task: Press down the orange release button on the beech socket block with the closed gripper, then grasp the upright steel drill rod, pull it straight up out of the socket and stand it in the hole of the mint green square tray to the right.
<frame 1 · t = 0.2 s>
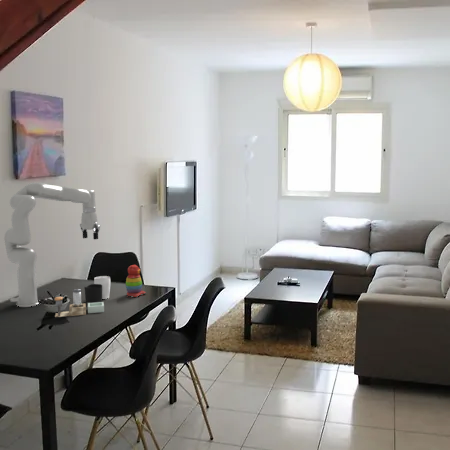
hand: (90, 238, 337), 31 cm above the table, tool pointing down, fingers open, 9 cm apart
mint green square tray: (96, 312, 287), on the table
socket block: (71, 314, 282), on the table
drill: (77, 312, 283), point 1 cm above the table, touching socket block
stacking bear: (134, 295, 322), on the table
cup: (103, 298, 316), on the table
pen holder: (94, 304, 304), on the table
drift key: (58, 302, 280), point 7 cm above the table, slide at 0.0 cm
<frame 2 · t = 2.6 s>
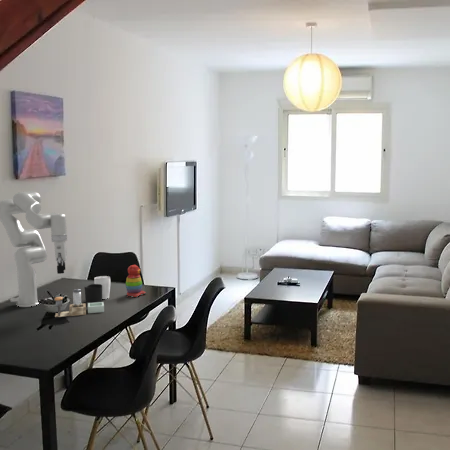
hand: (61, 271, 283), 22 cm above the table, tool pointing down, fingers open, 9 cm apart
nothing on the table moved.
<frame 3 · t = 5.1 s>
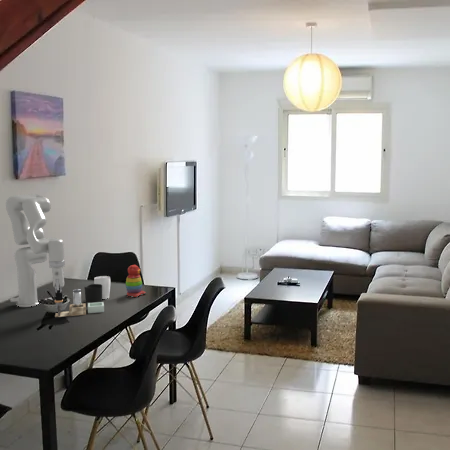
hand: (59, 300, 280), 8 cm above the table, tool pointing down, fingers closed
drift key: (59, 304, 280), point 6 cm above the table, slide at 1.2 cm, touching gripper
everything else where it was.
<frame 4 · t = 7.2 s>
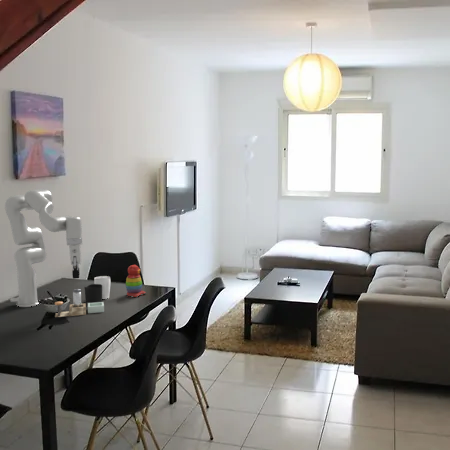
hand: (76, 276, 281), 20 cm above the table, tool pointing down, fingers open, 5 cm apart
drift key: (59, 306, 280), point 5 cm above the table, slide at 2.4 cm
everything else where it was.
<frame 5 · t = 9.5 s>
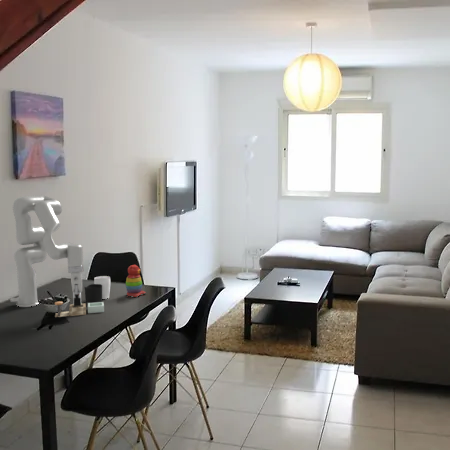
hand: (77, 304, 282), 5 cm above the table, tool pointing down, fingers closed on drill, 4 cm apart
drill: (77, 312, 283), point 1 cm above the table, touching gripper, socket block
everything else where it was.
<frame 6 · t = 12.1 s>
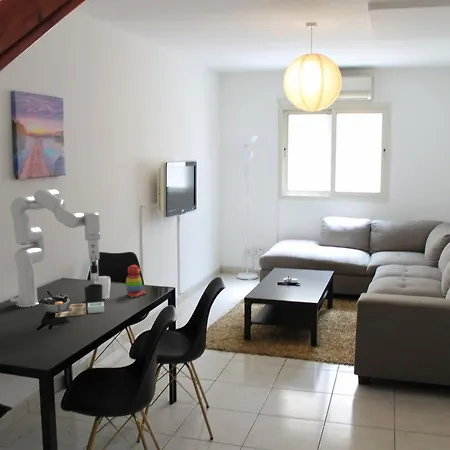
hand: (94, 272, 284), 21 cm above the table, tool pointing down, fingers closed on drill, 4 cm apart
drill: (94, 280, 285), point 16 cm above the table, touching gripper
everything else where it was.
when the fingers open (7 cm above the table, at t = 14.9 s): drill drops 2 cm, resting on mint green square tray.
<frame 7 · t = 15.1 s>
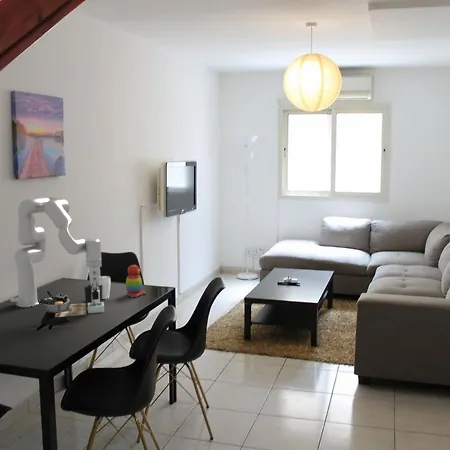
hand: (95, 297, 286), 8 cm above the table, tool pointing down, fingers open, 6 cm apart
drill: (95, 310, 287), point 1 cm above the table, touching mint green square tray
everything else where it was.
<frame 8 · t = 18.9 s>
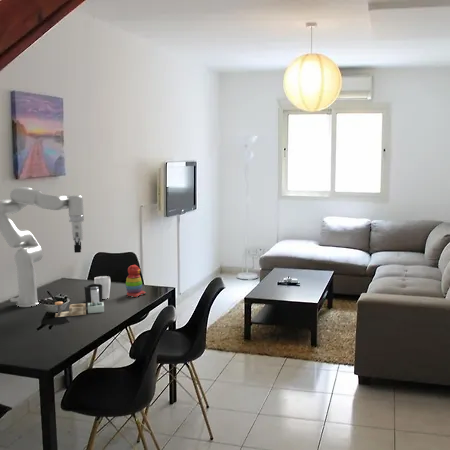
hand: (77, 251, 294), 30 cm above the table, tool pointing down, fingers open, 9 cm apart
nothing on the table moved.
at the end: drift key slide at 2.4 cm; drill 0.1 cm off-centre on the mint green square tray, point 0.9 cm above the mint green square tray's base; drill tilted 3° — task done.
